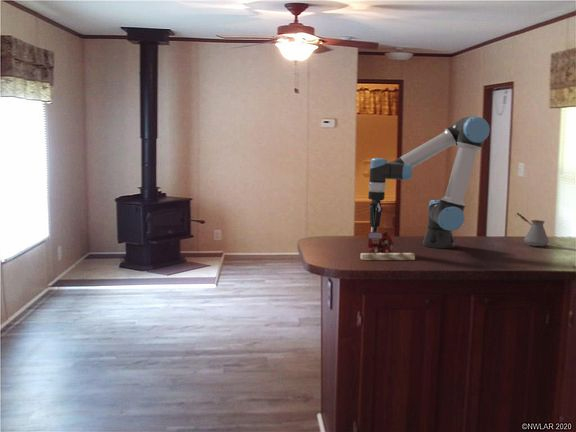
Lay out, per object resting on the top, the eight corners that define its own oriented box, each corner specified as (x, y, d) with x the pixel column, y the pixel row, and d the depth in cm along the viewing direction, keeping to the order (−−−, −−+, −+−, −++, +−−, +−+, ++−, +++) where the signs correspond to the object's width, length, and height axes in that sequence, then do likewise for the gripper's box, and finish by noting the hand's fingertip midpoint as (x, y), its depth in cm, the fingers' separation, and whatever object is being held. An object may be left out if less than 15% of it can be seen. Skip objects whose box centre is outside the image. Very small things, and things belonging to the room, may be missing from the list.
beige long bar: (412, 258, 267) (412, 252, 266) (414, 259, 264) (415, 253, 263) (360, 258, 263) (360, 252, 263) (362, 260, 260) (362, 254, 260)
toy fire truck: (394, 255, 272) (395, 233, 271) (368, 255, 271) (369, 232, 270) (390, 252, 279) (391, 230, 278) (364, 252, 278) (365, 230, 276)
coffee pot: (553, 247, 302) (555, 218, 299) (535, 248, 298) (537, 218, 295) (522, 239, 321) (525, 212, 319) (505, 240, 317) (507, 212, 315)
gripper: (365, 189, 286) (362, 237, 289) (372, 192, 273) (369, 242, 276) (380, 189, 287) (377, 238, 290) (388, 192, 274) (385, 243, 278)
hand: (373, 240), depth 283 cm, fingers closed
